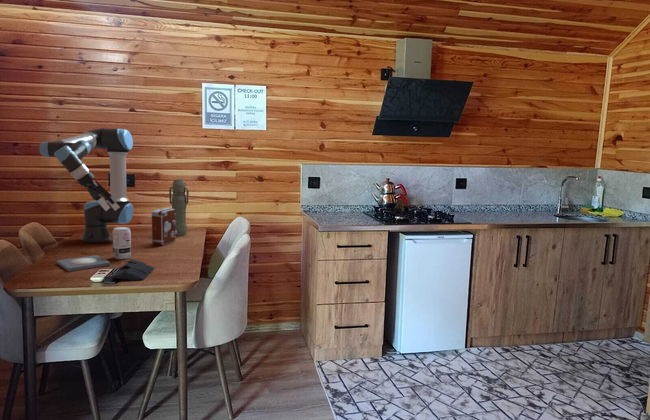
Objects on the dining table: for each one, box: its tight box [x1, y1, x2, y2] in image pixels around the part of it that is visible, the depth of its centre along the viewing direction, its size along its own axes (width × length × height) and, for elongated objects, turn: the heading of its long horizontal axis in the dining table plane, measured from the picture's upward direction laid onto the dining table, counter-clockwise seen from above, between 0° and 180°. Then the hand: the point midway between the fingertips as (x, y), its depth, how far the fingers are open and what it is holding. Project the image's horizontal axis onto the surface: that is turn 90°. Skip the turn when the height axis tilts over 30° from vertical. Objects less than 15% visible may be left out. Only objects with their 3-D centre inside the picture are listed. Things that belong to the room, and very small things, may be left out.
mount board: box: [56, 254, 111, 272], centre depth 223 cm, size 18×18×2 cm
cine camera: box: [151, 207, 177, 246], centre depth 275 cm, size 9×19×20 cm, turn 166°
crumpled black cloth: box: [112, 259, 155, 282], centre depth 209 cm, size 15×22×5 cm
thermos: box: [168, 178, 190, 237], centre depth 297 cm, size 9×12×35 cm
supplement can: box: [112, 226, 132, 260], centre depth 237 cm, size 8×8×15 cm
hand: (112, 209), depth 236 cm, fingers open, 13 cm apart
